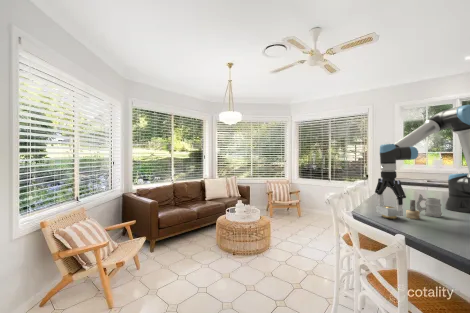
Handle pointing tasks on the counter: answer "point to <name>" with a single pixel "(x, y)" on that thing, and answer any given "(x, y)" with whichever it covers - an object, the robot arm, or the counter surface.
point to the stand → (412, 211)
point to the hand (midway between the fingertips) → (389, 207)
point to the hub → (389, 216)
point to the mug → (430, 206)
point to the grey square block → (388, 210)
